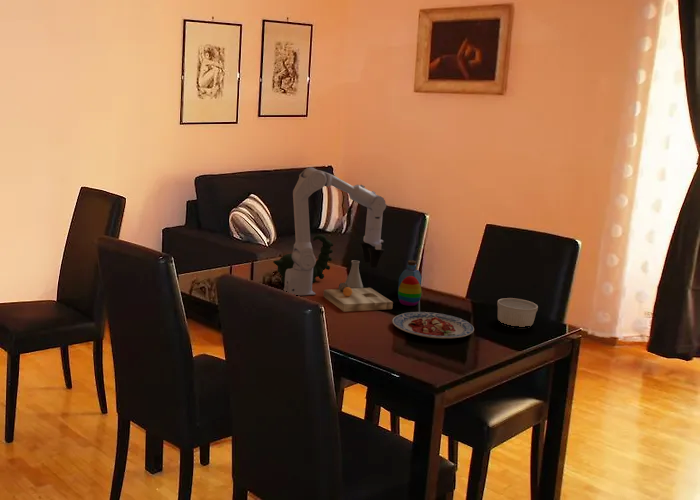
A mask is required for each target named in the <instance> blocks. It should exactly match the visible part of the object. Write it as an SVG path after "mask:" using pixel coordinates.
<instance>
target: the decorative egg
mask: <svg viewBox="0 0 700 500" xmlns="http://www.w3.org/2000/svg"><path fill="white" fill-rule="evenodd" d="M398 286H399V285H398ZM421 286H422V285H421ZM421 286H420V283H419V282H418V280H417V279H416V278H415V277H413V276H408V277H406V278H405V279H404V280H403V281H402V282H401V284H400V286H399V289H398V288H397V298H398V300H399V303H400V304H401V305H403V306H408V307H414V306H417V305H418V304H419V302H420V300H421V297H422V287H421Z"/></svg>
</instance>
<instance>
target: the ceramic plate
mask: <svg viewBox="0 0 700 500" xmlns="http://www.w3.org/2000/svg"><path fill="white" fill-rule="evenodd" d="M391 322H392V324H393V325H394V326H395V327H396V328H397V329H399V330H401V331H403V332H406V333H408V334H412V335H415V336H419V337H422V338H426V339H437V340H445V339H457V338H458V339H459V338H464V337H467V336H470V335H472V334H473V333H474V331H475V328H474V326H473V325H472V324H471V323H470V322H469V321H467V320H464V319H462V318H460V317H457V316H453V315H449V314H444V313H437V312H430V311H429V312H428V311H427V312H426V311H410V312H404V313H401V314H398V315H396V316H394V317H393V318H392V321H391Z"/></svg>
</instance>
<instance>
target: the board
mask: <svg viewBox="0 0 700 500" xmlns="http://www.w3.org/2000/svg"><path fill="white" fill-rule="evenodd" d="M322 297H323V298H325V299H326V300H327V301H329V303H332V304H333V305H334V306H336V307H337V308H338V309H339V310H341V312H343V313H344V312H360V311H362V312H363V311H381V310H382V311H383V310H392V309H393V306H394V305H393V304H394V302H393V301H392V300H390V299H389V298H387V297H386V296H384V295H382V294H381V293H379V292H378V291H377V290H375V289H373V288H372V287H363V288H354V289H352V294H351V295H350V296H345V295H344V294H343V291H340V289H339V288H334V289H323V296H322Z"/></svg>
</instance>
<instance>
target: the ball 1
mask: <svg viewBox="0 0 700 500" xmlns="http://www.w3.org/2000/svg"><path fill="white" fill-rule="evenodd" d="M346 287H348V285H347V284H346V283H345V282H343V281H342V282H340V283H339V285H338V289H340V291H343V290H344V288H346Z"/></svg>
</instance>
